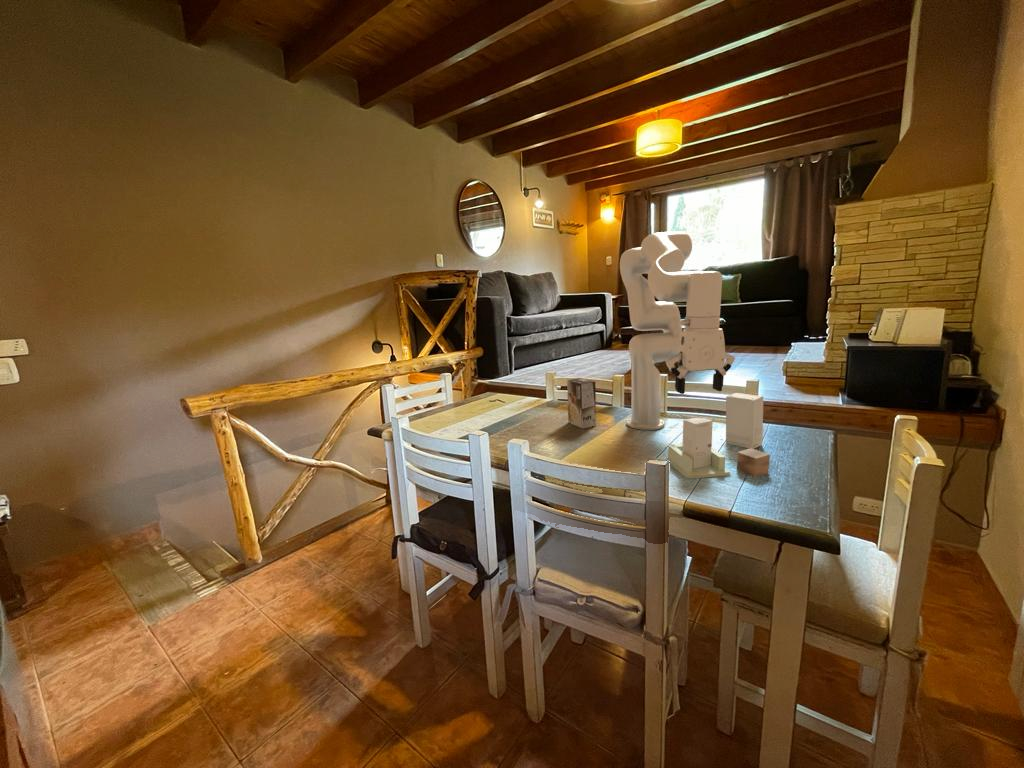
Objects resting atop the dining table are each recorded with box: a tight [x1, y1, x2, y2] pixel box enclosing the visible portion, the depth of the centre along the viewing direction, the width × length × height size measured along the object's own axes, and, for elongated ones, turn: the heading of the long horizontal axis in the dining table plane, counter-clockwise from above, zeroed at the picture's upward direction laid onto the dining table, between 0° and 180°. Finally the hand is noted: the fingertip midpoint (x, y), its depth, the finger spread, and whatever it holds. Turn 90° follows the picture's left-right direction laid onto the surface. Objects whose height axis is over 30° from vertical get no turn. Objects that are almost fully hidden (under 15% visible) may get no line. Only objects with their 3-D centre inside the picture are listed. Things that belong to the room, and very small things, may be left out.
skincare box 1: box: [682, 416, 713, 469], centre depth 109 cm, size 6×4×12 cm
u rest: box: [665, 443, 731, 479], centre depth 110 cm, size 12×11×4 cm
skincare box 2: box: [725, 392, 764, 449], centre depth 123 cm, size 8×6×15 cm
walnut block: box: [736, 448, 771, 478], centre depth 106 cm, size 5×5×5 cm
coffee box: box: [566, 377, 597, 430], centre depth 149 cm, size 9×6×16 cm
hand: (698, 391), depth 107 cm, fingers open, 9 cm apart
